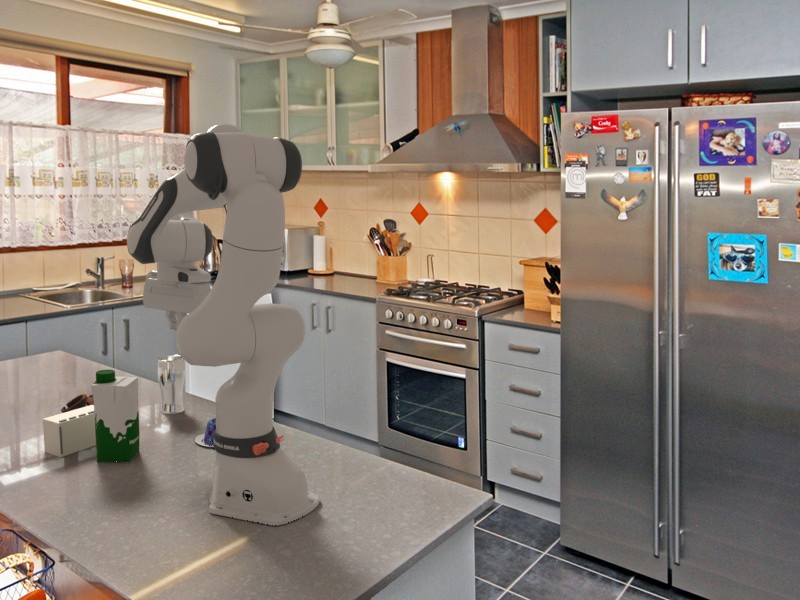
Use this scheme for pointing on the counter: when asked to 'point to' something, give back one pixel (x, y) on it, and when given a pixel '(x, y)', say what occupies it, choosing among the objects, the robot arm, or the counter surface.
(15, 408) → the counter surface
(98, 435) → the soya milk
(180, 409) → the beer glass
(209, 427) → the pudding
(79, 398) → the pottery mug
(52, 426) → the block
